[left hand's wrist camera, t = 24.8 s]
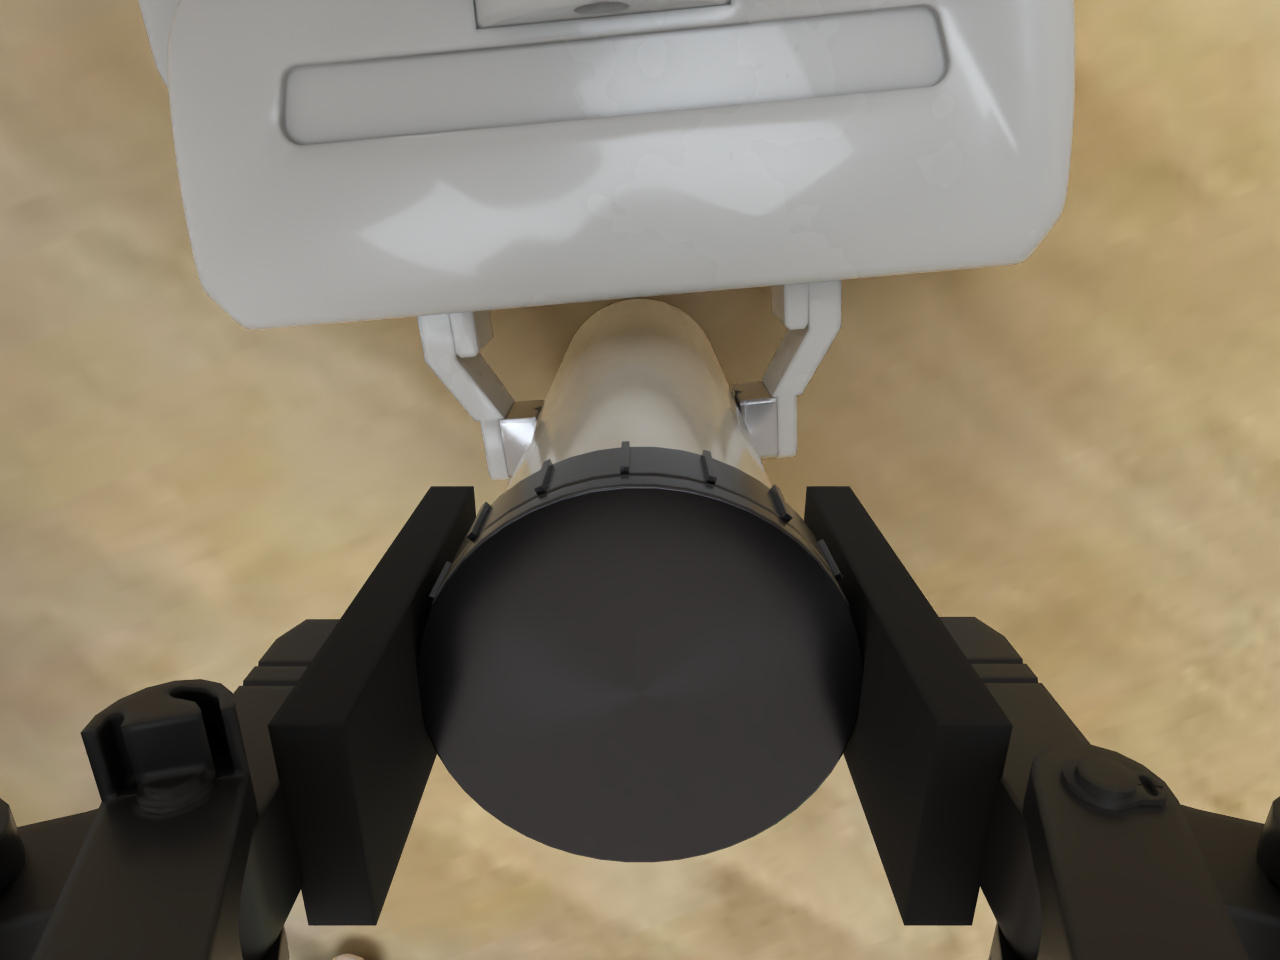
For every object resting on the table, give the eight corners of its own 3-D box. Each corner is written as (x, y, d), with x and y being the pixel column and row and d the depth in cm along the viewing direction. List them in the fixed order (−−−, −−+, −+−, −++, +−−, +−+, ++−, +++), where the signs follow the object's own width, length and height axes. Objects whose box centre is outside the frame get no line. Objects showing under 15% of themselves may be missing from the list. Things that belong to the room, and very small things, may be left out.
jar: (554, 437, 28) (437, 784, 12) (574, 286, 26) (467, 455, 10) (701, 460, 28) (781, 829, 12) (731, 312, 27) (873, 518, 10)
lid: (406, 452, 11) (369, 495, 9) (848, 425, 11) (881, 463, 9) (468, 798, 13) (446, 875, 12) (837, 779, 13) (862, 855, 11)
